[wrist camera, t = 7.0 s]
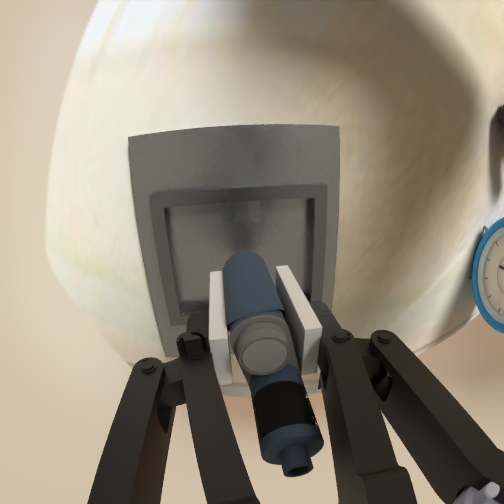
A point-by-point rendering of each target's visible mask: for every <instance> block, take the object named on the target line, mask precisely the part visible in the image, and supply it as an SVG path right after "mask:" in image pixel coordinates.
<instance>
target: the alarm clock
mask: <svg viewBox="0 0 504 504" xmlns="http://www.w3.org/2000/svg"><path fill="white" fill-rule="evenodd" d="M484 229H485V231H486V233H485V234H484V236H483V238H482V239H481V241H480V243H479V246H478V248H477V251H476V254H475V258H474V263H473V271H472V277H469V279H472V285H473V292H474V297H475V301H476V304H477V307H478V309H479V311H480V313H481V315H482V317H483V318H484V319H485V321H486V322H487V323H488V324H489V325H490V326H491V327H492V328H494V329H495V330H497V331H499V332H501V333H504V218H502V219H500V220H498V221H497V222H495V223H494V224H493V225H492V226H491V227H490V228H489V229H488V228H487V227H486V226H484Z"/></svg>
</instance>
